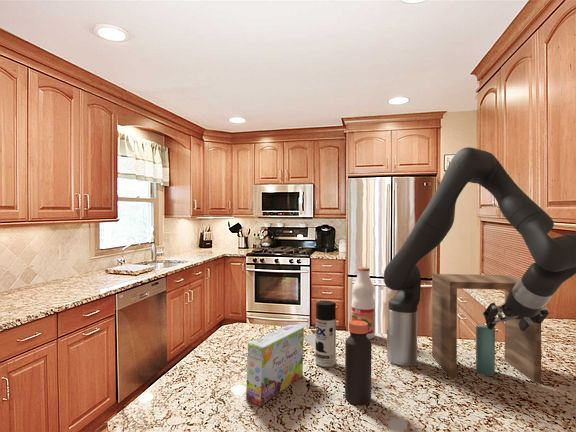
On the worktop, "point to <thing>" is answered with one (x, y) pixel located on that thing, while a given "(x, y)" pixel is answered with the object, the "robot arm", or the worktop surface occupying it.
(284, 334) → the snack box
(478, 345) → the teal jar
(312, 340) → the kitchen cleaver
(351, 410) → the worktop surface
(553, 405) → the worktop surface
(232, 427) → the worktop surface
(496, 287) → the walnut shelf
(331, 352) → the spray can
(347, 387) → the bottle
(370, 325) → the fruit juice
